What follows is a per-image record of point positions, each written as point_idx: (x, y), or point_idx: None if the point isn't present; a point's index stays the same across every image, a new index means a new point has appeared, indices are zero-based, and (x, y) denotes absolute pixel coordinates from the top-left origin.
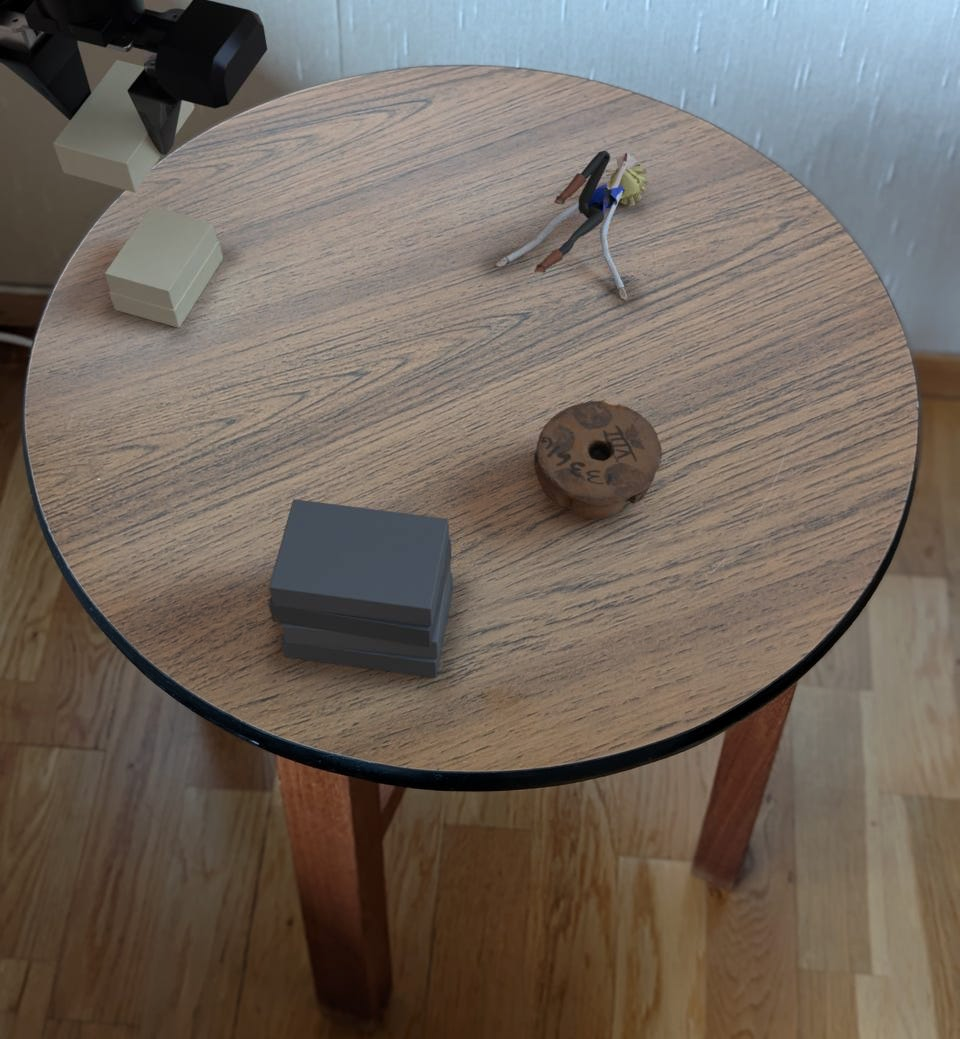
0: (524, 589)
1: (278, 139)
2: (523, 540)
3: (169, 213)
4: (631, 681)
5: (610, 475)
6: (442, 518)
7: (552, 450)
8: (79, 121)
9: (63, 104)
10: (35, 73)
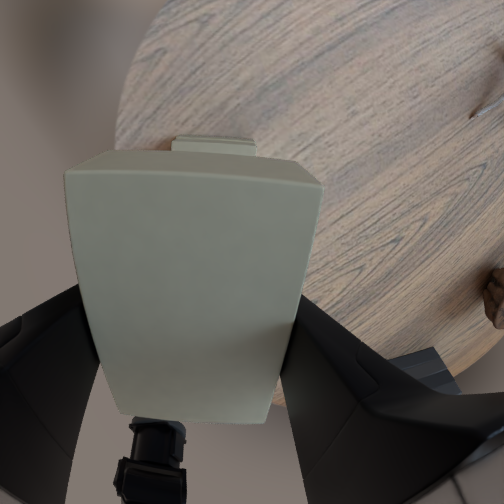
0: (458, 334)
1: None
2: (463, 314)
3: (198, 146)
4: (478, 348)
5: None
6: (459, 393)
7: (501, 314)
8: (122, 378)
9: (87, 400)
10: (65, 498)
